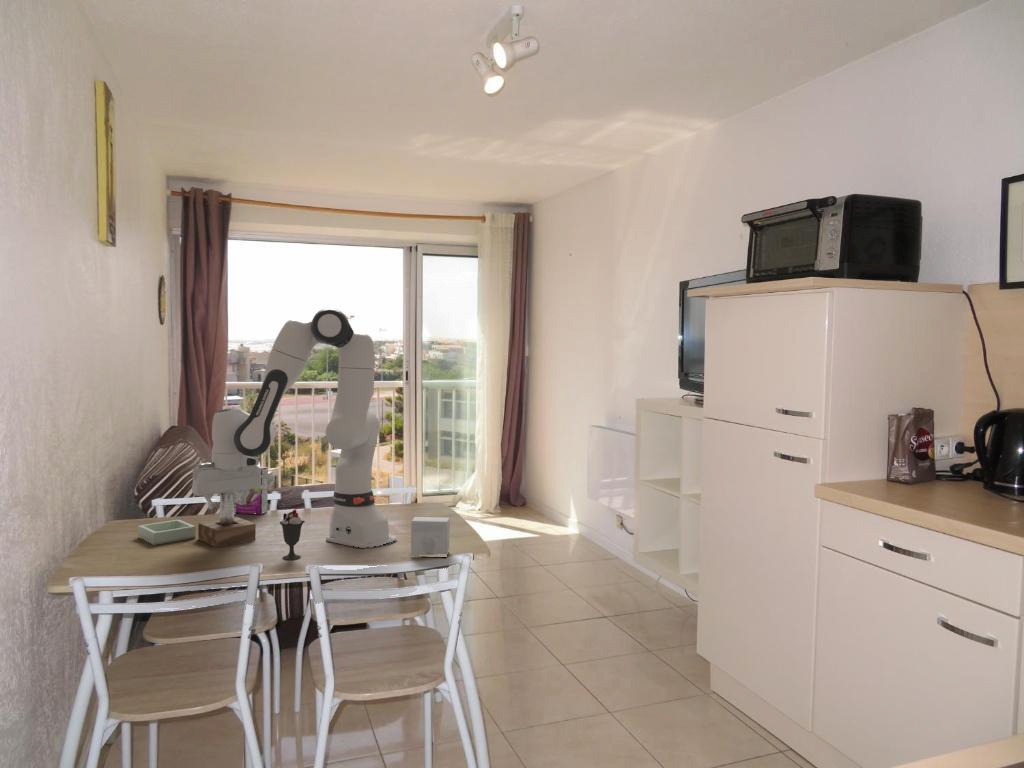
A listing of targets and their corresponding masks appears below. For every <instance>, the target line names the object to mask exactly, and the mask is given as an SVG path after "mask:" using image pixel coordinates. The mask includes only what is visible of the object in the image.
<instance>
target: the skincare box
mask: <svg viewBox="0 0 1024 768" xmlns="http://www.w3.org/2000/svg"><path fill="white" fill-rule="evenodd" d="M450 520H451V519H450V517H437V516H436V517H428V516H426V517H425V516H424V517H423V516H414V517H413V519H411V521H410V525H411V527H410V528H411V529H410V533H411V534H410V536H411V537H410V557H411V556H419V555H434V554H436V555H437V554H447V553H448V550H449V551H450V532H451V530H450V525H451V524H450Z"/></svg>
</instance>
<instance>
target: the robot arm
mask: <svg viewBox="0 0 1024 768" xmlns="http://www.w3.org/2000/svg"><path fill="white" fill-rule="evenodd" d="M318 344H324V345H328V346H333V347H335V348H336V349H337V352H338V368H337V369H338V371H337V372H338V373H337V374H338V375H337V389H336V390H337V391H336V397H335V400H334V401H335V402H334V405H333V410H332V413H331V418H330V420H329V422H328V424H327V425H326V428H325V438H326V441H327V442H328V443H329V444H330V445H331V447H333V448H336V449H338V450H341V451H340V453H339V458H338V461H337V462H336V465H335V478H334V479H335V481H334V484H335V489H334V492H333V504H334V507H333V509H332V510H331V512H330V521H329V530H328V531H329V532H328V535H326V537H325V538H326V539H325V541H326V542H330V543H335V544H340V545H344V546H349V547H353V546H354V548H358V547H359V549H368V548H367V547H369V548H375V547H374V546H376V547H380V545H381V546H384V545H383V544H386V543H389V542H392V541H394V540H396V539H397V536H395V535H393V534H391V533H390V528H389V527H390V526H389V522H388V518H387V517H386V516H384V515H383V513H382V511H380V509H379V508H378V507H377V505H376V504H375V503H376V498H377V495H374V493H373V490H372V475H373V474H372V473H373V471H372V470H373V461H374V455H375V452H376V446H377V440H378V436H379V434H380V432H381V422H380V419H379V417H377V415H376V414H374V413H372V412H370V411H369V406H370V404H371V400H372V399H373V396H374V393H375V392H374V391H375V372H376V371H375V370H376V369H375V368H376V364H375V363H376V361H375V360H376V359H375V348H374V346H375V345H374V341H373V338H372V337H371V336H370V335H369V334H367V333H365V332H362V331H355V330H354V329H353V327H352V326H351V324H350V322H349V319H348V318H347V316H346V315H345V313H344V312H342V311H341V310H339V309H338V308H333V307H327V308H323V309H321V310H319V311H317V313H315V315H314V316H313V318H312V319H311V320H310V321H306V320H302V319H295V318H293V319H289V320H288V321H286V322H285V323H284V325H283V326H282V328H280V331H279V333H278V334H277V336H276V338H275V340H274V343H273V345H272V347H271V348H270V349H271V350H270V352H269V355H268V358H267V362H266V366H265V372H264V376H263V380H262V385H261V388H260V390H259V392H258V395H257V398H256V400H255V402H254V405H253V406H252V409H251V411H250V413H248V412H247V411H245V410H244V409H242V408H241V407H238V406H234V407H233V406H232V407H228V408H223V409H220V410H219V409H218V410H217V411H216V412H215V413H214V415H213V418H212V423H211V424H212V426H211V440H212V443H213V444H212V449H211V462H206V463H198V464H197V465H196V466H194V468H193V469H192V479H193V480H192V485H191V493H193V495H195V496H197V497H201V496H203V497H204V499H205V501H206V503H207V505H208V506H207V507H208V510H215V509H216V505H217V503H216V502H213V500H212V498H213V495H217V494H220V493H225V492H229V491H240V490H242V492H243V495H242V497H241V498H239V504H240V505H243V504H246V498H247V496H248V495H249V490H250V489H255V488H259V487H260V485H261V472H260V468H259V467H260V466H259V464H260V459H259V458H257V457H259V456H260V455H261V456H262V455H263V454H264V453H265V452H266V451H268V448H269V447H270V446H271V445H272V444H273V443H274V441H276V440H275V439H276V437H277V429H276V427H275V425H274V424H273V423H272V422H273V420H274V417H275V414H276V412H277V409H278V407H279V405H280V402H281V400H282V398H283V396H284V395H285V394H286V392H288V390H289V389H290V388H292V386H293V385H295V383H296V382H297V381H298V379H300V377H301V375H303V374H302V373H303V372H304V371H305V368H306V365H307V363H308V361H309V359H310V355H311V353H312V351H313V350H314V347H315V346H317V345H318ZM396 541H397V540H396ZM392 543H393V542H392ZM389 544H390V543H389ZM386 545H387V544H386Z"/></svg>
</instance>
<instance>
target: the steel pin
mask: <svg viewBox="0 0 1024 768" xmlns="http://www.w3.org/2000/svg"><path fill="white" fill-rule="evenodd" d="M219 497H220V498H219V520H220V526H227V525H233V524H234V517H235V513H234V491H229V492H225V493H219Z"/></svg>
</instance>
